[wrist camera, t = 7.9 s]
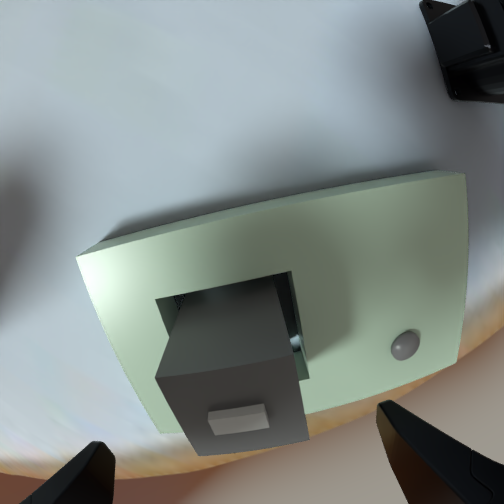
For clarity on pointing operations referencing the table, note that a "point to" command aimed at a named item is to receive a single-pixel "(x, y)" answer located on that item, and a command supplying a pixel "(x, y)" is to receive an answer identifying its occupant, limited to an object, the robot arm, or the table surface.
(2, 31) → the table surface
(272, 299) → the block
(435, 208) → the socket box
